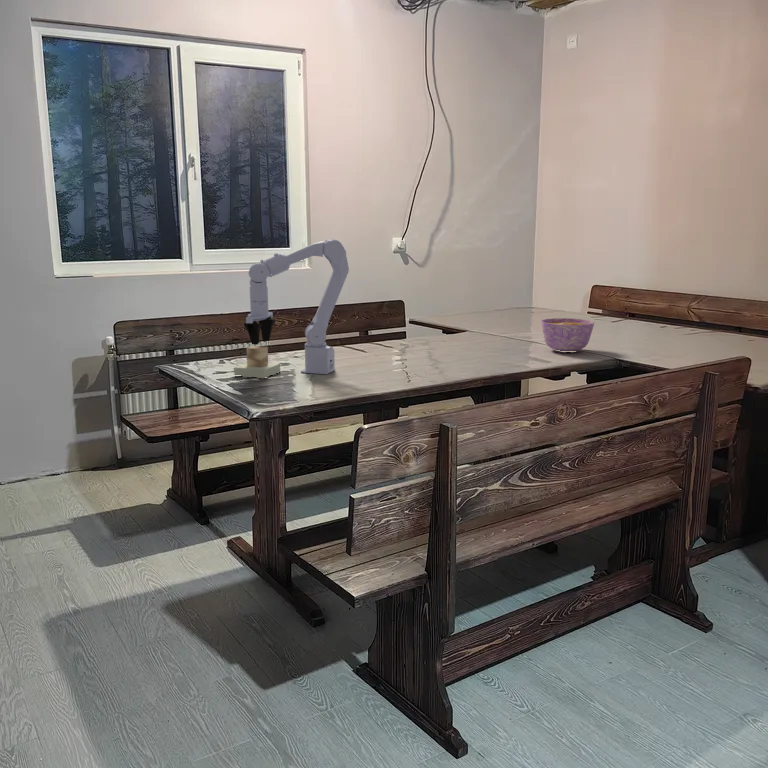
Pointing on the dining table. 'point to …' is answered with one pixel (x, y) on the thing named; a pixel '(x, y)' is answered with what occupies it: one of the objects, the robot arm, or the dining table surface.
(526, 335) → the dining table surface
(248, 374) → the sage slab
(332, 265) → the robot arm
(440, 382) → the dining table surface
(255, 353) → the maple block
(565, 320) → the bowl of food
